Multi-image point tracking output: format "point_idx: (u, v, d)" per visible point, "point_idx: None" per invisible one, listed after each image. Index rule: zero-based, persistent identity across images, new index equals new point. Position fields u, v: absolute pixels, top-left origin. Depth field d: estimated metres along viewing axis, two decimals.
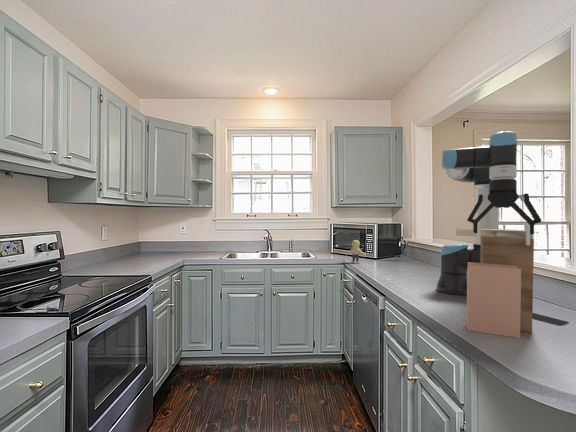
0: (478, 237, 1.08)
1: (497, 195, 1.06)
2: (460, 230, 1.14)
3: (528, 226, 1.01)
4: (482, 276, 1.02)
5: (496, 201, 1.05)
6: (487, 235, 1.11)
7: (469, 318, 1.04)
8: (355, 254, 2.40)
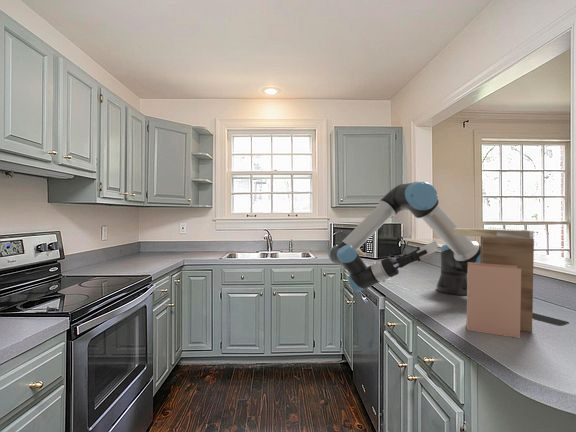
0: None
1: None
2: (457, 230, 1.17)
3: (421, 257, 1.16)
4: (482, 276, 1.02)
5: None
6: (483, 235, 1.12)
7: (469, 318, 1.04)
8: None
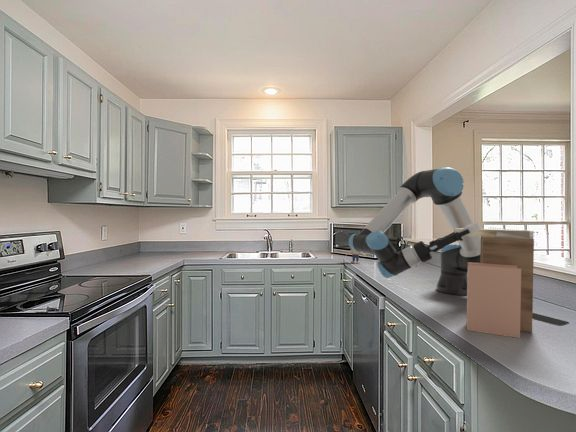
0: None
1: None
2: (458, 230, 1.16)
3: (463, 237, 1.12)
4: (482, 276, 1.02)
5: None
6: (485, 235, 1.12)
7: (469, 318, 1.04)
8: (355, 254, 2.40)
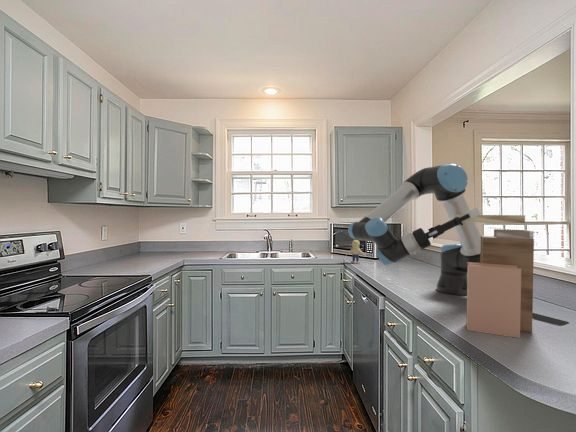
0: None
1: None
2: None
3: (464, 222, 1.14)
4: (482, 276, 1.02)
5: None
6: (486, 220, 1.11)
7: (469, 318, 1.04)
8: (355, 254, 2.40)
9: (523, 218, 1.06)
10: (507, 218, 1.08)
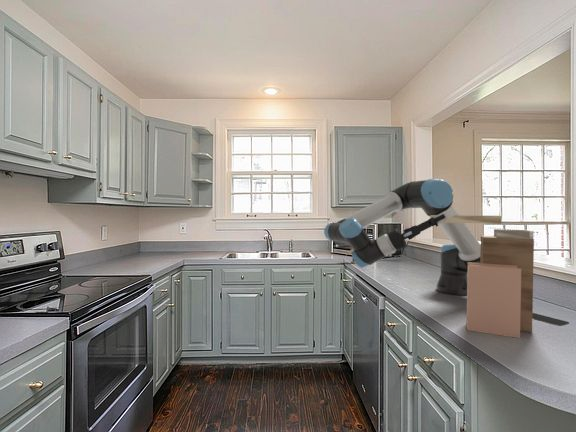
0: None
1: None
2: None
3: (439, 223, 1.09)
4: (482, 276, 1.02)
5: None
6: (461, 221, 1.06)
7: (469, 318, 1.04)
8: None
9: (499, 219, 1.01)
10: (483, 219, 1.03)
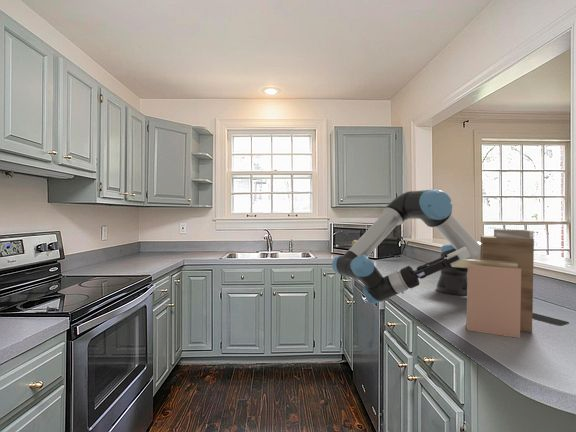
0: None
1: None
2: None
3: None
4: (482, 276, 1.02)
5: None
6: None
7: (469, 318, 1.04)
8: None
9: (516, 267, 1.00)
10: (499, 266, 1.02)
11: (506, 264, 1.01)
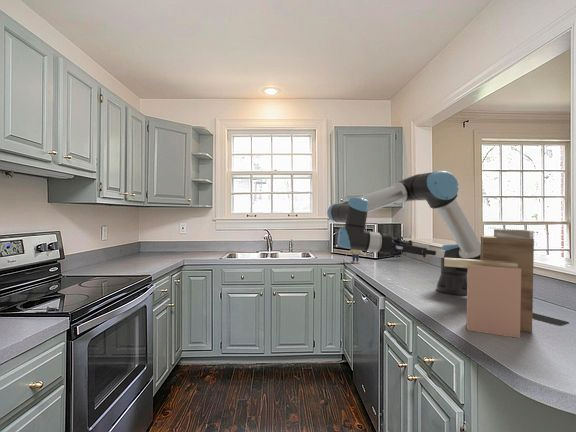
0: (423, 250, 1.27)
1: None
2: (448, 260, 1.08)
3: (426, 255, 1.13)
4: (482, 276, 1.02)
5: None
6: None
7: (469, 318, 1.04)
8: (355, 254, 2.40)
9: (516, 267, 1.00)
10: (499, 266, 1.02)
11: (506, 264, 1.01)
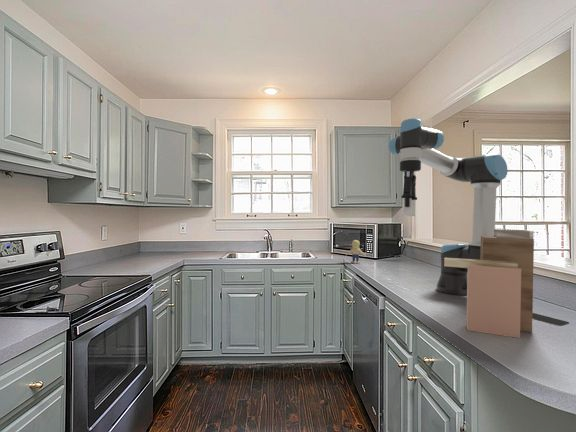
0: None
1: None
2: (448, 260, 1.08)
3: None
4: (482, 276, 1.02)
5: None
6: None
7: (469, 318, 1.04)
8: (355, 254, 2.40)
9: (516, 267, 1.00)
10: (499, 266, 1.02)
11: (506, 264, 1.01)
